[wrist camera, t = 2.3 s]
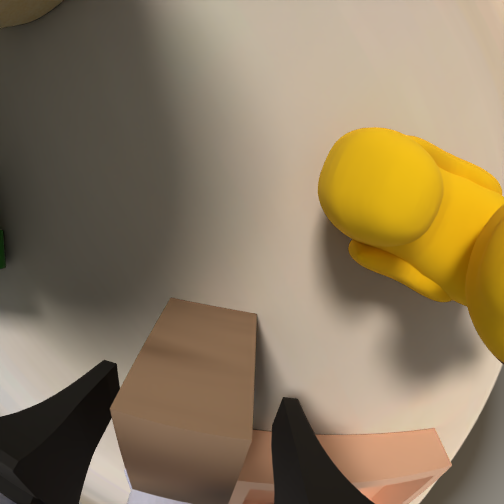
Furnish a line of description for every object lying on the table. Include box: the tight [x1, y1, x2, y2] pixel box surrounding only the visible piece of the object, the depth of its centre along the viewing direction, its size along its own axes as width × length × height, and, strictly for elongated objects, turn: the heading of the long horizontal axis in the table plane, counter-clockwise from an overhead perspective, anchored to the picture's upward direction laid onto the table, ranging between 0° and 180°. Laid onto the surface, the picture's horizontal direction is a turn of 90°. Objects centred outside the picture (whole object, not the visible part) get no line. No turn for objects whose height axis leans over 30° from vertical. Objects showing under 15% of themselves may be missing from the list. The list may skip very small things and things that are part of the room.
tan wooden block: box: [110, 298, 257, 504], centre depth 11 cm, size 6×4×7 cm, turn 170°
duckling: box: [318, 127, 504, 364], centre depth 7 cm, size 11×5×10 cm, turn 69°
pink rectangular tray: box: [228, 428, 452, 504], centre depth 16 cm, size 11×15×4 cm
